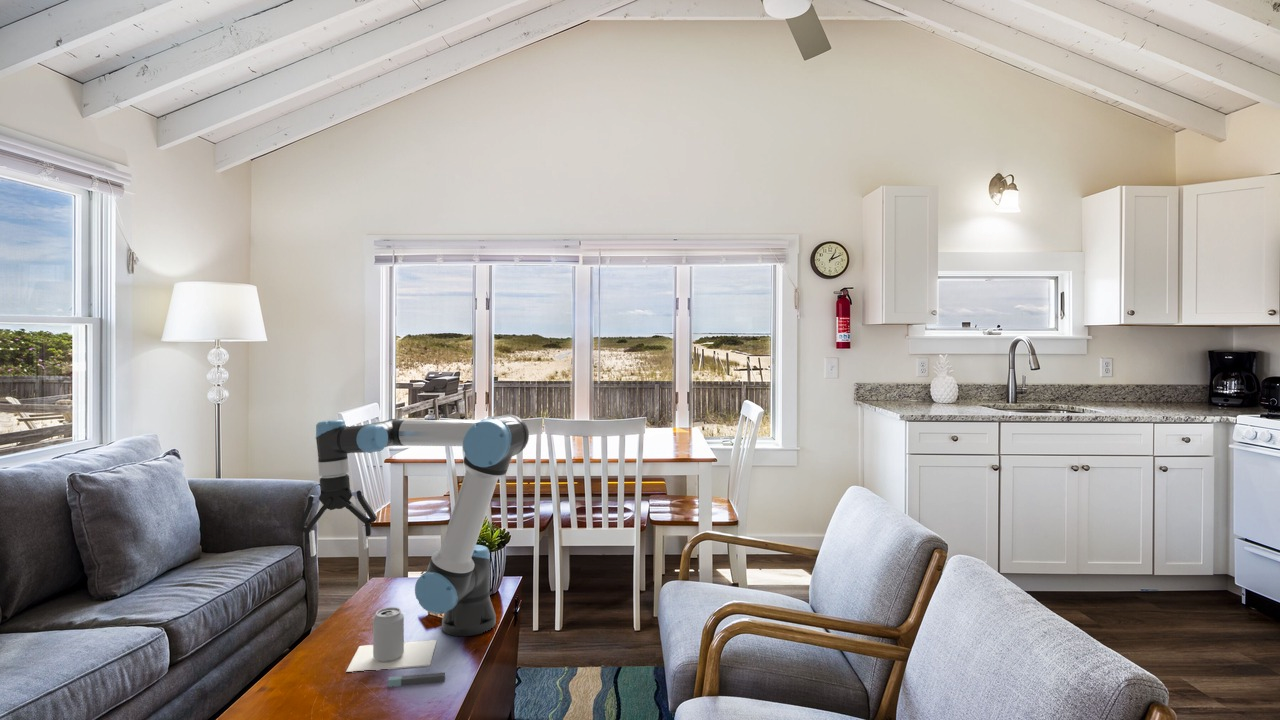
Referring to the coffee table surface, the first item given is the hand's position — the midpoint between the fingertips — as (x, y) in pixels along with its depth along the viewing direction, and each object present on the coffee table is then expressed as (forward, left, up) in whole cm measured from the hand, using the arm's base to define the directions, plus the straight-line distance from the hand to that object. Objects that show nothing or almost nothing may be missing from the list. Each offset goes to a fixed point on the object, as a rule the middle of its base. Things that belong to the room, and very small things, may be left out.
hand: (340, 551), depth 184 cm
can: (-16, +17, -23) cm, 33 cm away
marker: (-25, +31, -24) cm, 46 cm away
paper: (-17, +16, -24) cm, 33 cm away
